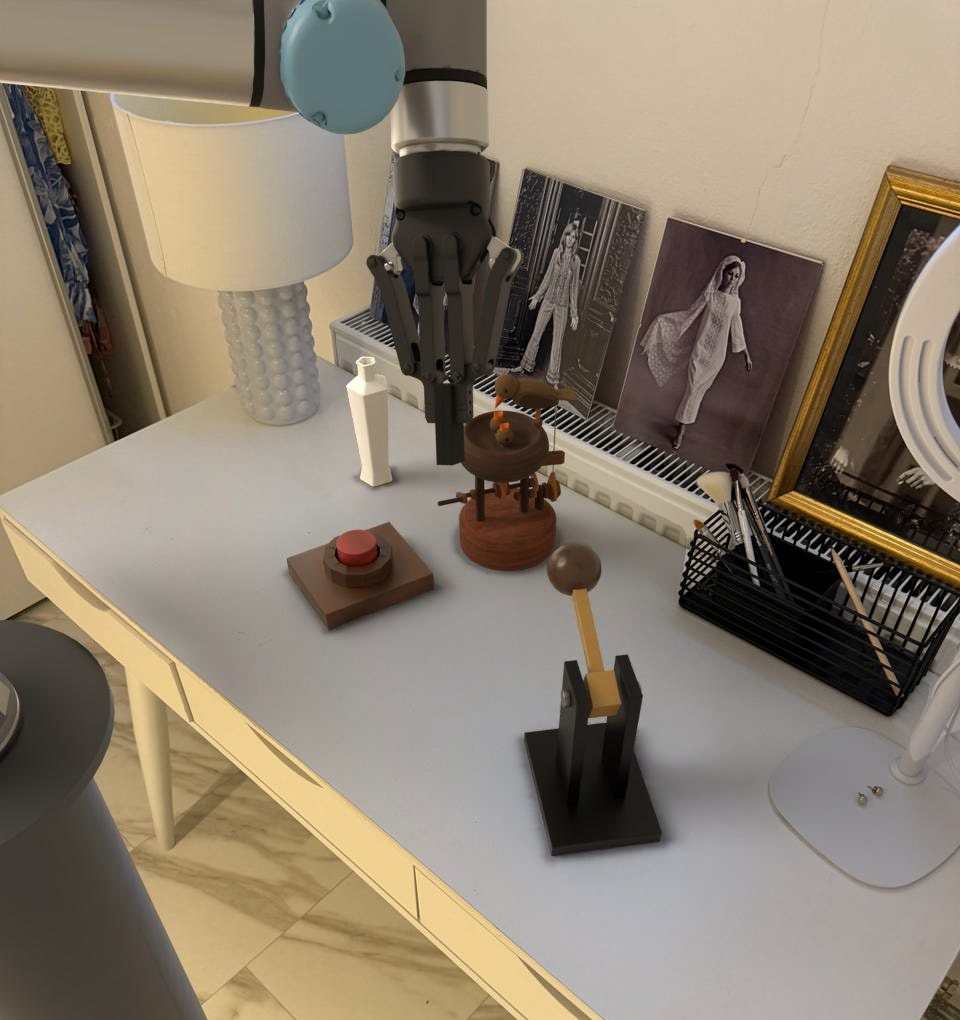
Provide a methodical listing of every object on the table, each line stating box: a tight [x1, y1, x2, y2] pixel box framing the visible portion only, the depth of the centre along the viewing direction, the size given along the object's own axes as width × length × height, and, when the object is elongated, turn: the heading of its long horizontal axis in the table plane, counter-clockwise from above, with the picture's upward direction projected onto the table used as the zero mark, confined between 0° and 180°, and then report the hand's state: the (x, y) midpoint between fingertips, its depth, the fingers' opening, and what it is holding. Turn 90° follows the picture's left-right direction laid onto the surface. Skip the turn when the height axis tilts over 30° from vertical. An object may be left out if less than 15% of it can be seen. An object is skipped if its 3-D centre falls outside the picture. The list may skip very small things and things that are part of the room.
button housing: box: [285, 521, 435, 631], centre depth 99 cm, size 12×10×4 cm
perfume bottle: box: [346, 356, 393, 487], centre depth 109 cm, size 5×4×15 cm
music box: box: [436, 373, 579, 572], centre depth 98 cm, size 15×11×20 cm
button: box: [336, 529, 377, 567], centre depth 98 cm, size 4×4×2 cm
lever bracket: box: [523, 654, 663, 857], centre depth 77 cm, size 12×9×14 cm
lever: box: [546, 541, 621, 719], centre depth 76 cm, size 15×4×4 cm, turn 9°
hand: (450, 462), depth 82 cm, fingers closed
